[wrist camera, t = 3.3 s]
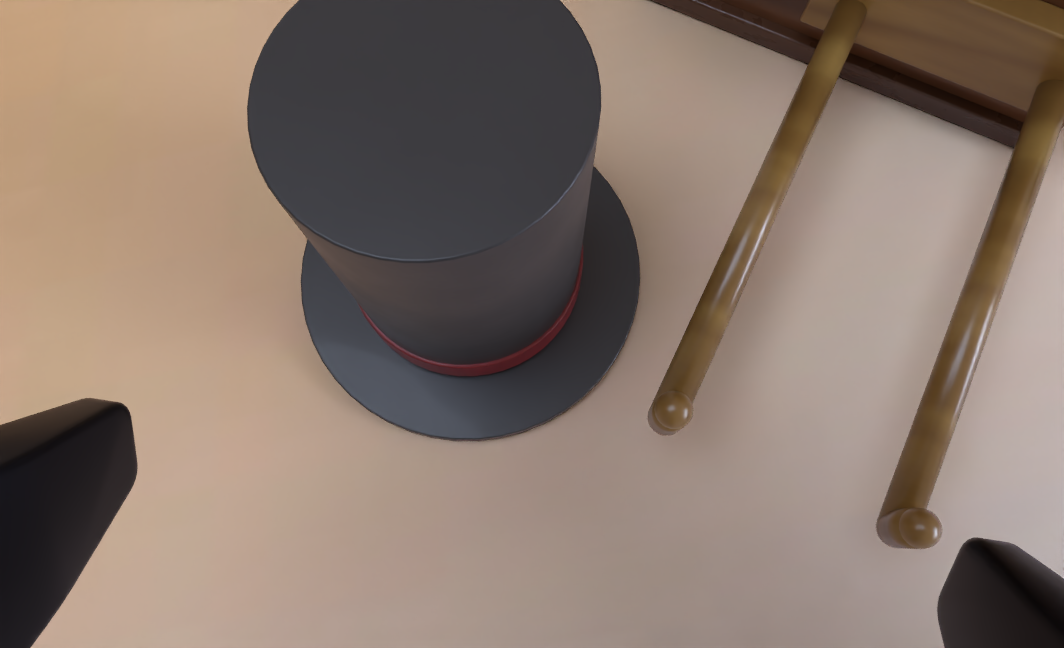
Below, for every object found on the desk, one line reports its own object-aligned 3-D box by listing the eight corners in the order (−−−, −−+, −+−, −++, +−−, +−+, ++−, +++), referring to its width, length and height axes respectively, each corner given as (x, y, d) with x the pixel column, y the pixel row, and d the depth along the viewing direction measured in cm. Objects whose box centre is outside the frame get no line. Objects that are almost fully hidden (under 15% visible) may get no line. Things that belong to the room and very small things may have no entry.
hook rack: (886, 569, 21) (2013, 674, 5) (444, 352, 23) (212, -90, 7) (1073, 50, 26) (2001, -800, 9) (688, -98, 28) (904, -1027, 11)
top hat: (301, 452, 22) (120, 388, 13) (307, 134, 25) (162, -115, 16) (655, 429, 23) (740, 349, 13) (622, 115, 25) (671, -145, 16)
